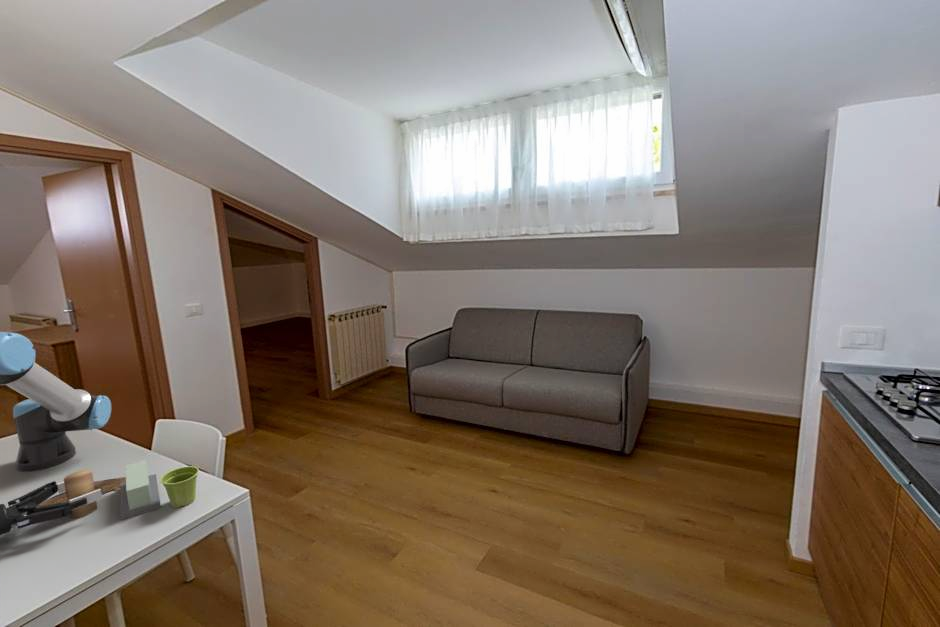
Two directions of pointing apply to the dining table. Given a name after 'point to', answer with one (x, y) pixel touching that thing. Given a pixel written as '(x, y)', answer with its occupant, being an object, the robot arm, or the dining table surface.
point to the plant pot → (181, 485)
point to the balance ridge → (138, 491)
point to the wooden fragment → (103, 485)
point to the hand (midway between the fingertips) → (94, 485)
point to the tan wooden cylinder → (80, 491)
